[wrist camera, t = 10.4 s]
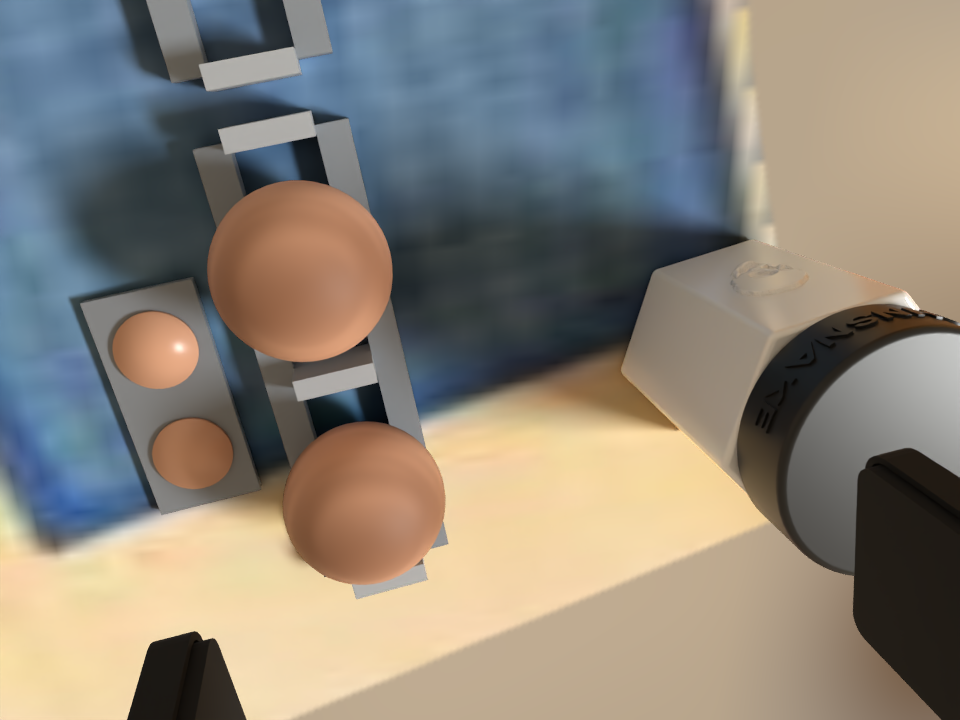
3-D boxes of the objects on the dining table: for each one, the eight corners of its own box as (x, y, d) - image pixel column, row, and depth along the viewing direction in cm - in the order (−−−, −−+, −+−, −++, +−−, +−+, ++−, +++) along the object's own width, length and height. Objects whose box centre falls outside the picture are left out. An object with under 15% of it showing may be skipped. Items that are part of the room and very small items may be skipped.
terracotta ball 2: (269, 418, 30) (255, 492, 25) (418, 382, 31) (437, 446, 25) (309, 544, 32) (304, 639, 27) (447, 508, 33) (471, 593, 27)
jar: (799, 217, 32) (1047, 281, 21) (818, 389, 35) (1044, 525, 24) (599, 280, 32) (747, 381, 20) (636, 450, 35) (782, 619, 23)
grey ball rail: (-49, -654, 20) (-97, -748, 18) (161, -671, 21) (141, -765, 18) (327, 573, 34) (327, 607, 31) (447, 540, 34) (455, 572, 32)
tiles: (-182, -389, 21) (-196, -403, 21) (-31, -407, 22) (-40, -421, 21) (163, 509, 31) (160, 517, 31) (261, 485, 32) (260, 492, 31)
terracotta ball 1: (198, 191, 27) (164, 216, 22) (365, 156, 28) (374, 171, 22) (247, 348, 29) (228, 408, 24) (401, 312, 30) (418, 362, 24)
